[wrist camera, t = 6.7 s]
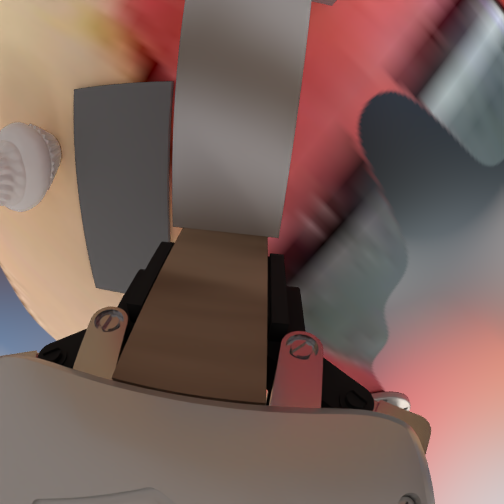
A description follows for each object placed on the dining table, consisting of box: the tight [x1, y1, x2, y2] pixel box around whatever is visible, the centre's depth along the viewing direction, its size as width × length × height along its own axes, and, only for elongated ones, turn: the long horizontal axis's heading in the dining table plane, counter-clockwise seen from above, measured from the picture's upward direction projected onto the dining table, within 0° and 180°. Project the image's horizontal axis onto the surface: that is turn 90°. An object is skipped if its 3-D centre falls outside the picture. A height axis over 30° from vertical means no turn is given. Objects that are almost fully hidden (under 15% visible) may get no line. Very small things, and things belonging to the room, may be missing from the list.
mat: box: [74, 81, 174, 293], centre depth 18 cm, size 16×7×1 cm, turn 174°
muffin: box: [0, 122, 62, 212], centre depth 14 cm, size 6×6×7 cm
